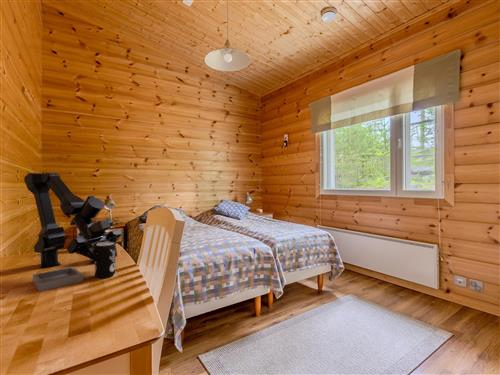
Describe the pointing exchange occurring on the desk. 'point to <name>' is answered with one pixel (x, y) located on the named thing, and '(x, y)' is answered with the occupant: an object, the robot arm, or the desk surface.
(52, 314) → the desk surface
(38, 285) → the gray rectangular tray
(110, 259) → the beverage can
